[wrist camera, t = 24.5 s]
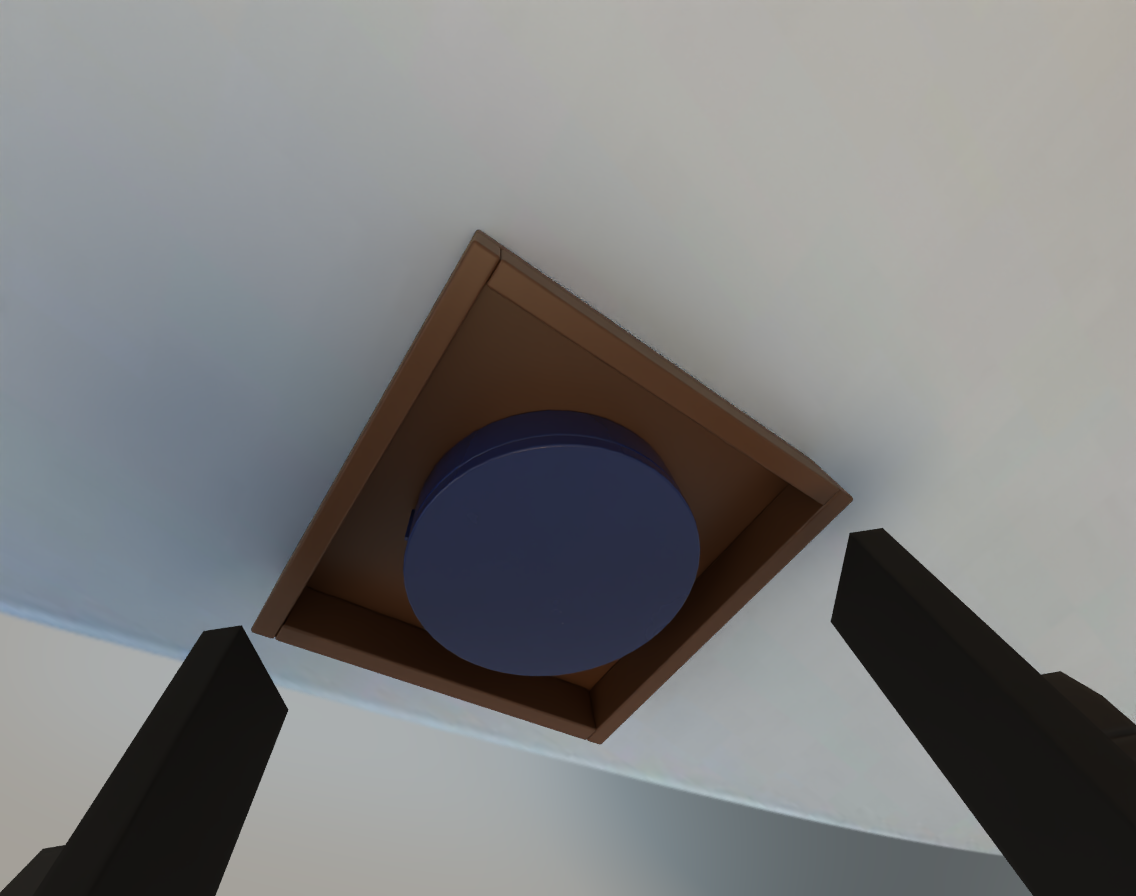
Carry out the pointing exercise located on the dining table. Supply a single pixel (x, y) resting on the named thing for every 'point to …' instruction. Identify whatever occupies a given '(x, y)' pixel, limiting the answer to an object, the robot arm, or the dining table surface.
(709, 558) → the tray
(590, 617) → the jar lid
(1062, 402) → the dining table surface
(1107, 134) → the dining table surface
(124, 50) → the dining table surface
